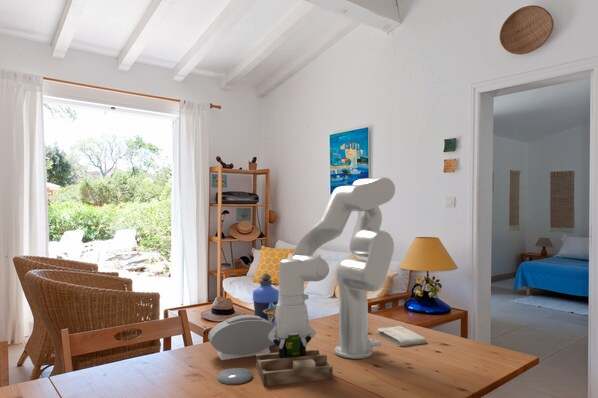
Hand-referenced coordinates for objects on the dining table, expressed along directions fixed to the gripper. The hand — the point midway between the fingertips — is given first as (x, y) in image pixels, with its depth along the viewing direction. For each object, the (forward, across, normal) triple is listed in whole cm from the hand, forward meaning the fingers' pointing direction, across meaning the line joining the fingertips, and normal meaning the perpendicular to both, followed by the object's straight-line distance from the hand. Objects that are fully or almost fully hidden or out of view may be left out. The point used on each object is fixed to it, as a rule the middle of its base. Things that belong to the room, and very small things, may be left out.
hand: (292, 358), depth 132 cm
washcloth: (+5, -47, -20) cm, 51 cm away
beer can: (+3, 0, 0) cm, 3 cm away
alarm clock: (+3, +12, -17) cm, 22 cm away
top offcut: (+1, -2, +6) cm, 7 cm away
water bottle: (+4, +4, -26) cm, 27 cm away
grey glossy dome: (+3, +18, +2) cm, 18 cm away
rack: (+3, 0, +3) cm, 5 cm away
